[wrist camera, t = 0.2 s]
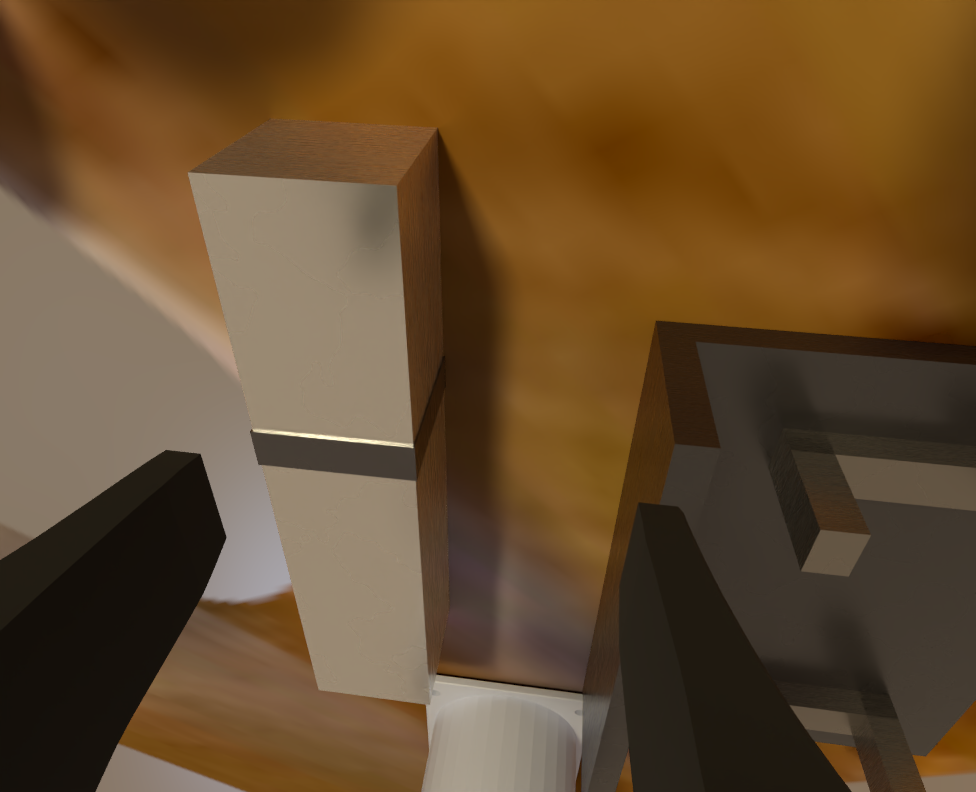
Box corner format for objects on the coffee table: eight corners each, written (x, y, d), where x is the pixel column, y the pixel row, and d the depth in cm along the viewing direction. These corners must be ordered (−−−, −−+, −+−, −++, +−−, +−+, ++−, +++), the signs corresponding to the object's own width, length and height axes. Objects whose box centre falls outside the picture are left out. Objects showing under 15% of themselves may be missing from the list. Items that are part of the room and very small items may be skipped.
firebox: (916, 733, 30) (973, 876, 25) (582, 689, 31) (581, 817, 27) (1222, 366, 18) (1430, 516, 13) (655, 320, 19) (674, 444, 15)
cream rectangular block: (450, 607, 29) (430, 706, 25) (350, 595, 29) (316, 691, 25) (439, 127, 17) (398, 186, 13) (269, 118, 17) (183, 173, 13)
